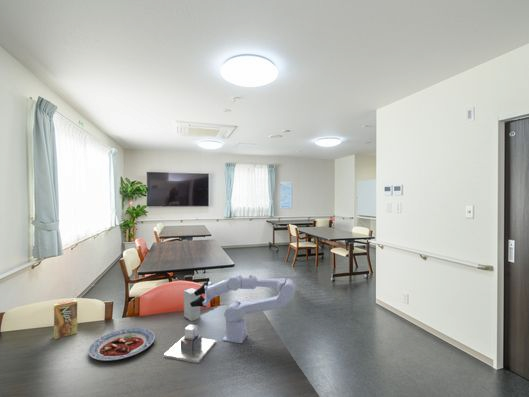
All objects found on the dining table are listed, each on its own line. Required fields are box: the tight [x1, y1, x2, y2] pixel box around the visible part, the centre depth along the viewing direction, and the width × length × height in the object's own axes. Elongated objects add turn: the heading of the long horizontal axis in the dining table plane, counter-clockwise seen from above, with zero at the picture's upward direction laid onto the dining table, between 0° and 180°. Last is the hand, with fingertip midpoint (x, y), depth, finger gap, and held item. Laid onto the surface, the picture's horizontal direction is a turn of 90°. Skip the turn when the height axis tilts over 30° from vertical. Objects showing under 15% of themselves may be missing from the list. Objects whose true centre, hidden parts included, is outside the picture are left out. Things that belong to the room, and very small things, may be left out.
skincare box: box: [183, 287, 201, 321], centre depth 147 cm, size 8×6×15 cm
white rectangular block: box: [184, 324, 199, 341], centre depth 116 cm, size 4×4×8 cm
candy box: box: [53, 299, 78, 340], centre depth 128 cm, size 9×4×15 cm, turn 129°
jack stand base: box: [163, 333, 217, 364], centre depth 116 cm, size 16×16×5 cm
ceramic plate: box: [87, 327, 156, 361], centre depth 118 cm, size 26×26×3 cm
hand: (193, 299), depth 129 cm, fingers open, 7 cm apart
